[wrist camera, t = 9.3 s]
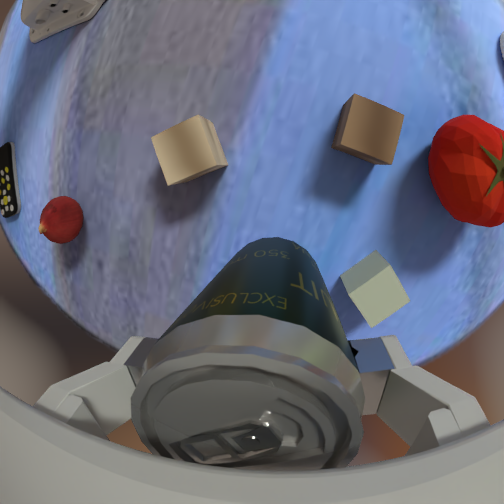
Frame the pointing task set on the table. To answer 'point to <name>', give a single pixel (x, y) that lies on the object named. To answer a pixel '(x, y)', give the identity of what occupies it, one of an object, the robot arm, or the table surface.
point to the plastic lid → (502, 44)
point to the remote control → (9, 181)
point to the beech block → (189, 150)
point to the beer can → (254, 371)
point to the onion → (61, 220)
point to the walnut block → (368, 130)
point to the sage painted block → (374, 288)
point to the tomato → (469, 170)
